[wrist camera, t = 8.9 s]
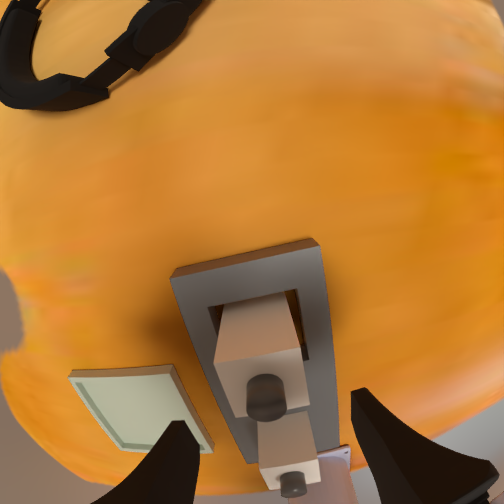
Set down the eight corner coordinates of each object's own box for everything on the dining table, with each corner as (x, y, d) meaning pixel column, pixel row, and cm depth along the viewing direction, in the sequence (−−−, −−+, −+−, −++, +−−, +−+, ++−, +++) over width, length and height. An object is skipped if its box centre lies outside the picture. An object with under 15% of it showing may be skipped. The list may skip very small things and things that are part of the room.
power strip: (335, 432, 23) (355, 500, 15) (247, 449, 23) (247, 518, 15) (312, 238, 18) (362, 289, 9) (177, 268, 18) (127, 336, 10)
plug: (292, 337, 20) (315, 426, 11) (239, 348, 20) (234, 439, 12) (283, 288, 19) (306, 368, 10) (224, 300, 19) (209, 385, 11)
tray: (214, 444, 23) (213, 452, 22) (123, 443, 24) (120, 450, 22) (172, 364, 20) (169, 373, 19) (73, 370, 21) (67, 377, 20)
